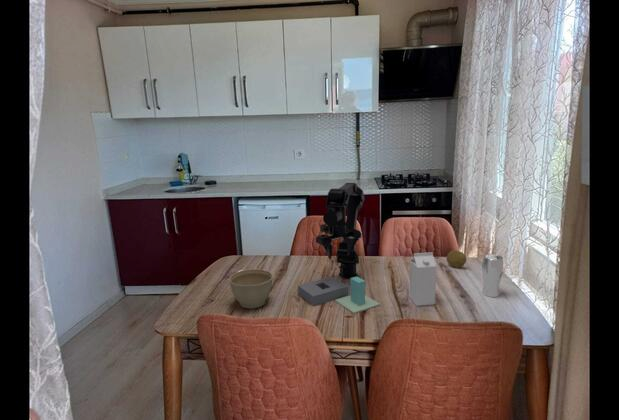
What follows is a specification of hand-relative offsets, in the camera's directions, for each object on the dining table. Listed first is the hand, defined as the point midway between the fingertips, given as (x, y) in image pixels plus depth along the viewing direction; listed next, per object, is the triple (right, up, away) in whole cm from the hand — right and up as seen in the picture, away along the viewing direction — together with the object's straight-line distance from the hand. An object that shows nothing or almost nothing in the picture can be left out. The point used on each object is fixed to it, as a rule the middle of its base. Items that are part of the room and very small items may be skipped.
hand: (339, 257), depth 151 cm
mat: (+6, -16, -12) cm, 21 cm away
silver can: (+57, -13, -9) cm, 60 cm away
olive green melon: (+55, -7, +19) cm, 59 cm away
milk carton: (+30, -15, -13) cm, 36 cm away
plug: (+6, -15, -13) cm, 21 cm away
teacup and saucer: (-44, -12, +17) cm, 49 cm away
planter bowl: (-34, -17, -9) cm, 39 cm away
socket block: (-7, -15, -5) cm, 17 cm away
